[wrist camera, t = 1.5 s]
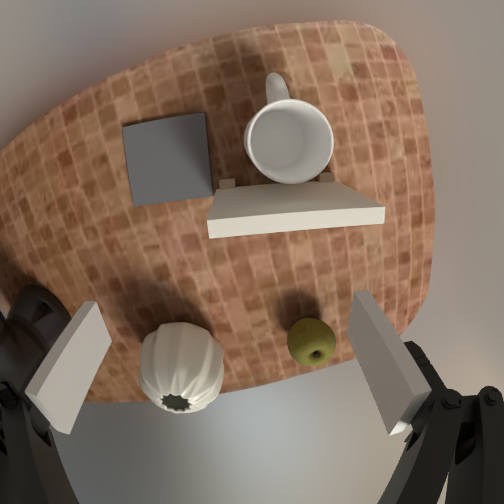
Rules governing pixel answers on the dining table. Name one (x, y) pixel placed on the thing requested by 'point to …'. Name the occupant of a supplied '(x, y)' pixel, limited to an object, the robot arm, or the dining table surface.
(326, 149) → the mug
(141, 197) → the pad
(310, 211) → the screen
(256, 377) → the dining table surface
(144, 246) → the dining table surface
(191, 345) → the vase
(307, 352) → the apple
